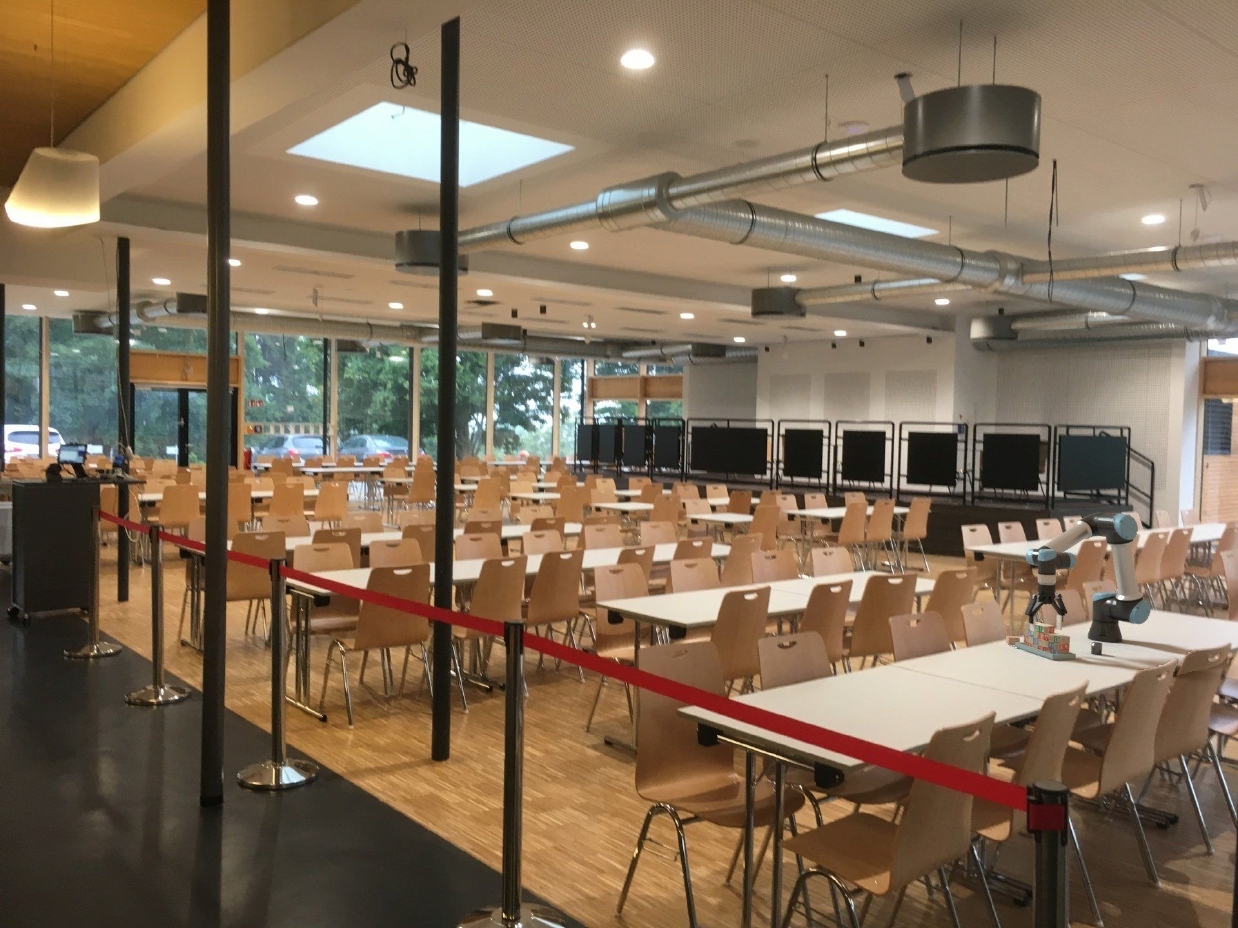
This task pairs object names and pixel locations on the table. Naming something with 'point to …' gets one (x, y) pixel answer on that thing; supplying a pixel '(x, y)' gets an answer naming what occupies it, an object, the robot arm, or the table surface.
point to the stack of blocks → (1046, 639)
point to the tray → (1045, 653)
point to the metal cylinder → (1096, 648)
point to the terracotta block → (1012, 640)
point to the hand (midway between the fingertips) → (1046, 630)
